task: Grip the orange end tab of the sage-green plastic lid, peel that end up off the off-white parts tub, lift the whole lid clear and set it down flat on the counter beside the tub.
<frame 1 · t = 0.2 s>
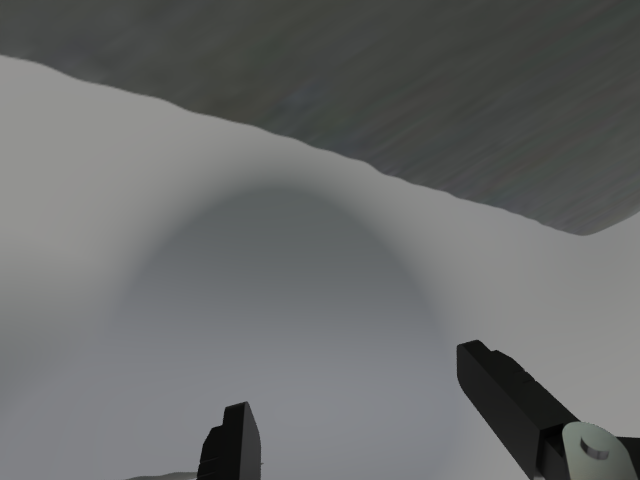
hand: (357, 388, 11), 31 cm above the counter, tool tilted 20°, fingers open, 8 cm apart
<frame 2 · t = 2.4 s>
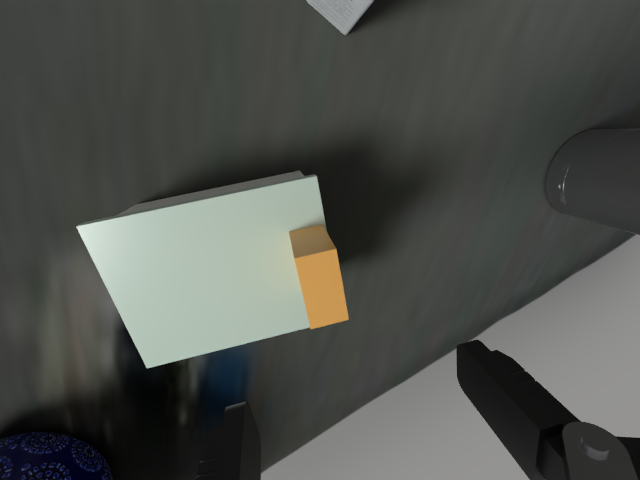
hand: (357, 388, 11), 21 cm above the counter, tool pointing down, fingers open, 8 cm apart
planter: (50, 466, 36), on the counter
tub: (236, 241, 30), on the counter
lid: (227, 272, 24), point 7 cm above the counter, touching tub
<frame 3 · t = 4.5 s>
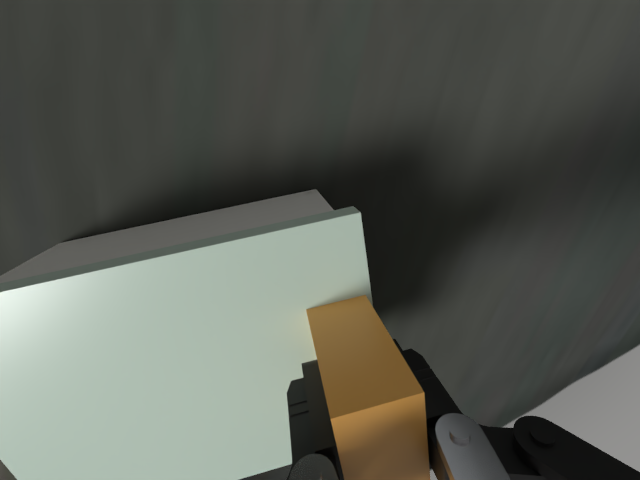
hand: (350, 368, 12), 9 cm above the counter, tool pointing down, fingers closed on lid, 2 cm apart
tub: (220, 293, 20), on the counter
lid: (199, 372, 14), point 7 cm above the counter, touching gripper, tub
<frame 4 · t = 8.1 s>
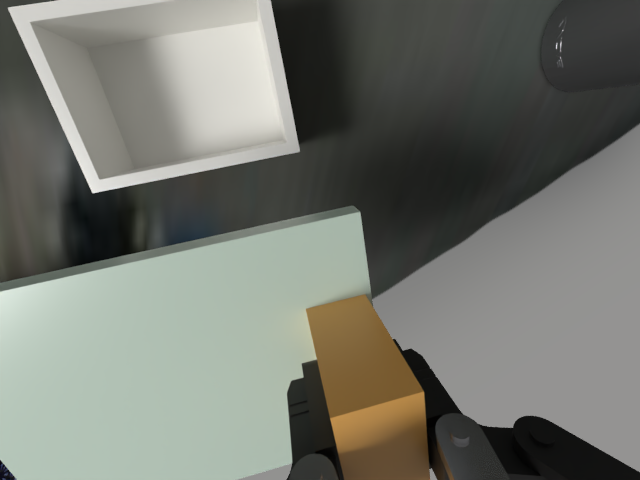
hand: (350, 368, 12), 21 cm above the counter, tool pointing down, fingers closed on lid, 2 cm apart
tub: (195, 98, 27), on the counter
lid: (198, 372, 14), point 19 cm above the counter, touching gripper
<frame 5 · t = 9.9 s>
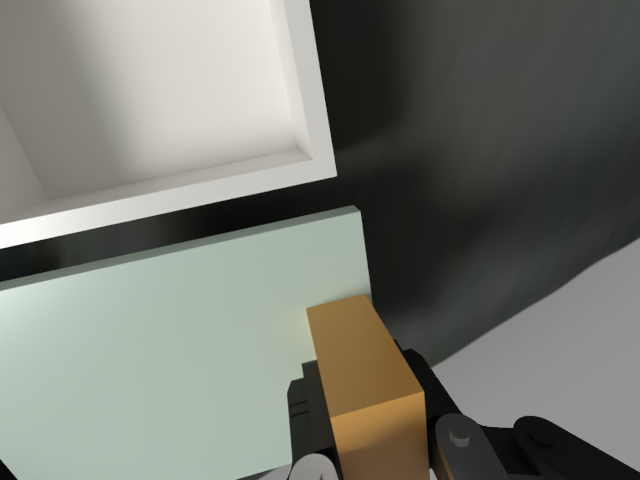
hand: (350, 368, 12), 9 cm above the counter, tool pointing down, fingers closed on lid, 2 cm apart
tub: (150, 80, 16), on the counter
lid: (198, 371, 14), point 7 cm above the counter, touching gripper
when the fingers open (5 cm above the counter, at t = 11.5 s): lid drops 2 cm, point 1 cm above the counter.
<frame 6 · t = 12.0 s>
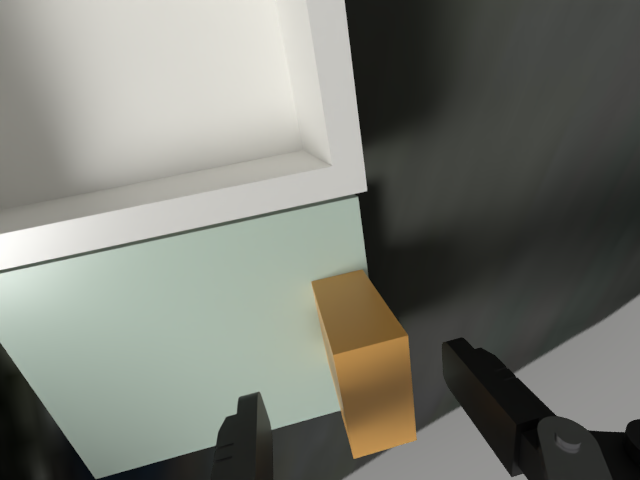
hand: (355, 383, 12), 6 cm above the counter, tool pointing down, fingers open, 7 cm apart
tub: (106, 56, 12), on the counter
lid: (217, 338, 16), point 1 cm above the counter
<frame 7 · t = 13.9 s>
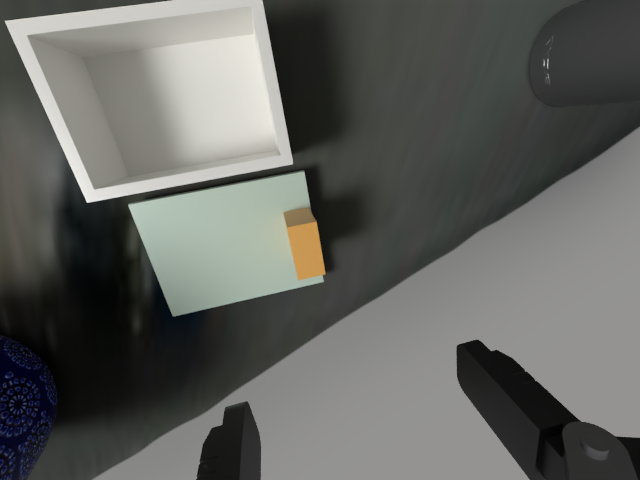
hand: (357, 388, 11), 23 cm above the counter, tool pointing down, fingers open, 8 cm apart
tub: (190, 108, 27), on the counter
lid: (236, 243, 31), point 1 cm above the counter
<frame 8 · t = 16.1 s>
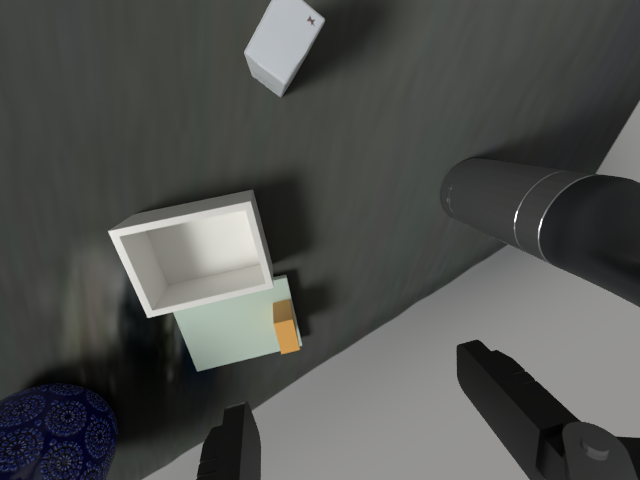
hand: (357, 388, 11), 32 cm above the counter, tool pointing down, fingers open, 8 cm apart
planter: (68, 412, 47), on the counter
skincare box: (279, 64, 36), on the counter
tub: (208, 240, 41), on the counter
lid: (241, 322, 45), point 1 cm above the counter
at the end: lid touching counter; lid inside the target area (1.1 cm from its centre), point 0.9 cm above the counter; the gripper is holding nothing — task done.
